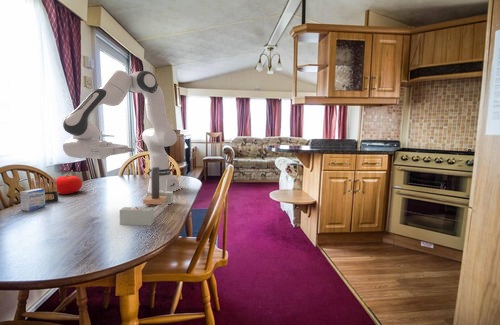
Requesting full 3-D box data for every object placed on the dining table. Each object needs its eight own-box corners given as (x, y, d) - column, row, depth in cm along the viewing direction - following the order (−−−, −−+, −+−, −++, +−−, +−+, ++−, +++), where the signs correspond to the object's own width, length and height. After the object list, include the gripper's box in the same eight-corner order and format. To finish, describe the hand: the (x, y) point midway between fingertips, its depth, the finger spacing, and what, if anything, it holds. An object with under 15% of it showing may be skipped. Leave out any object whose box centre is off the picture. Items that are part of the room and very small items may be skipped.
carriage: (149, 199, 133) (148, 166, 131) (167, 200, 133) (167, 166, 131) (143, 203, 125) (142, 168, 123) (162, 204, 125) (162, 169, 123)
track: (150, 201, 139) (150, 189, 138) (173, 202, 139) (173, 190, 138) (119, 224, 105) (119, 209, 104) (150, 225, 105) (149, 209, 104)
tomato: (61, 190, 156) (60, 173, 155) (85, 190, 159) (85, 173, 158) (49, 196, 142) (48, 177, 141) (76, 195, 145) (75, 177, 144)
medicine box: (28, 211, 117) (27, 192, 116) (20, 210, 118) (19, 191, 117) (45, 206, 125) (44, 188, 124) (38, 205, 126) (37, 187, 125)
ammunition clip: (31, 203, 129) (29, 179, 127) (31, 202, 130) (30, 178, 129) (57, 201, 134) (56, 178, 133) (58, 200, 136) (57, 177, 134)
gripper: (87, 144, 115) (119, 145, 115) (110, 142, 135) (138, 143, 135) (87, 158, 115) (119, 159, 116) (111, 154, 136) (138, 155, 136)
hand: (129, 150), depth 126 cm, fingers open, 8 cm apart
